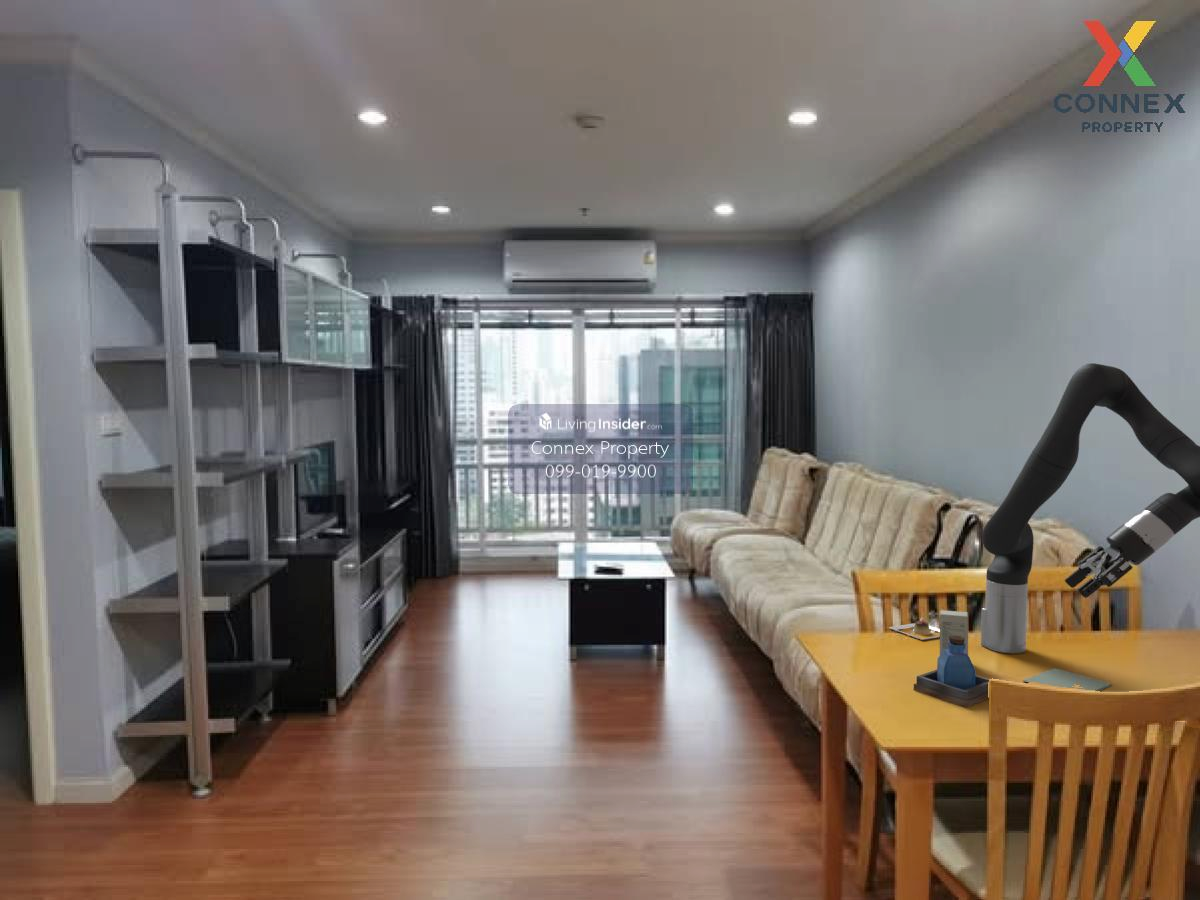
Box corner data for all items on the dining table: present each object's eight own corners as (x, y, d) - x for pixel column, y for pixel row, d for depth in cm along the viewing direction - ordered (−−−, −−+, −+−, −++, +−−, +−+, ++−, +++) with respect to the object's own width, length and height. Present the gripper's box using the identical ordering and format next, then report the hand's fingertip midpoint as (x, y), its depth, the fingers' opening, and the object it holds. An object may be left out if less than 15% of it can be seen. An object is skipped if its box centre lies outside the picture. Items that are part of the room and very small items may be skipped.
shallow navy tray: (913, 689, 170) (913, 676, 170) (945, 678, 177) (946, 665, 177) (966, 707, 160) (966, 693, 160) (997, 694, 167) (998, 681, 167)
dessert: (922, 643, 204) (922, 625, 204) (888, 631, 215) (888, 614, 215) (956, 637, 209) (956, 620, 209) (921, 626, 220) (921, 609, 220)
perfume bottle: (974, 698, 165) (976, 642, 164) (943, 696, 166) (944, 641, 165) (967, 688, 171) (968, 634, 170) (936, 686, 172) (938, 632, 171)
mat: (1022, 682, 175) (1022, 680, 174) (1054, 669, 182) (1054, 668, 182) (1080, 698, 165) (1080, 697, 165) (1111, 685, 172) (1111, 683, 172)
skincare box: (968, 662, 188) (969, 611, 187) (968, 667, 184) (969, 616, 183) (938, 658, 190) (940, 609, 190) (938, 664, 187) (939, 613, 186)
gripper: (1112, 518, 166) (1050, 568, 170) (1139, 529, 153) (1071, 583, 156) (1140, 544, 165) (1077, 594, 169) (1169, 557, 152) (1100, 611, 155)
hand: (1074, 589), depth 163 cm, fingers open, 8 cm apart
